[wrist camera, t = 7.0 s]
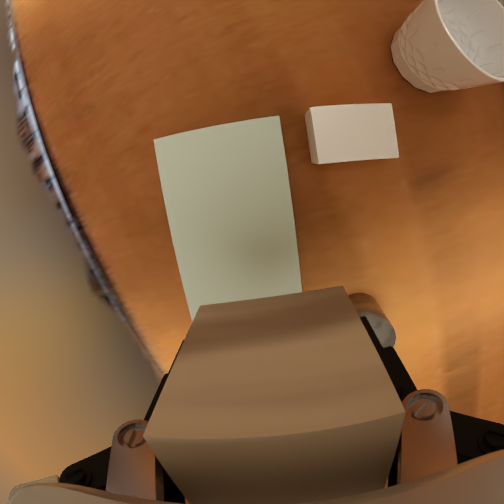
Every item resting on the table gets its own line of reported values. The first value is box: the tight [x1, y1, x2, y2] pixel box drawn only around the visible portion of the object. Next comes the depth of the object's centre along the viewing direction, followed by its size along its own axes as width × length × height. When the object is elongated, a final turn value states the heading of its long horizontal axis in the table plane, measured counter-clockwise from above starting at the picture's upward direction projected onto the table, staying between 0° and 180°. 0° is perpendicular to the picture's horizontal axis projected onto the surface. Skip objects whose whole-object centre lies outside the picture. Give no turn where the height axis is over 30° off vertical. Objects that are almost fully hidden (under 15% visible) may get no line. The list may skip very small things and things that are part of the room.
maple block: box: [143, 286, 406, 504], centre depth 8 cm, size 5×5×6 cm
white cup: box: [391, 0, 504, 93], centre depth 15 cm, size 8×8×10 cm
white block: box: [304, 103, 399, 164], centre depth 21 cm, size 4×6×4 cm, turn 99°
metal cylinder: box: [348, 293, 396, 348], centre depth 25 cm, size 4×4×5 cm
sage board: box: [154, 116, 302, 322], centre depth 25 cm, size 20×10×1 cm, turn 9°
